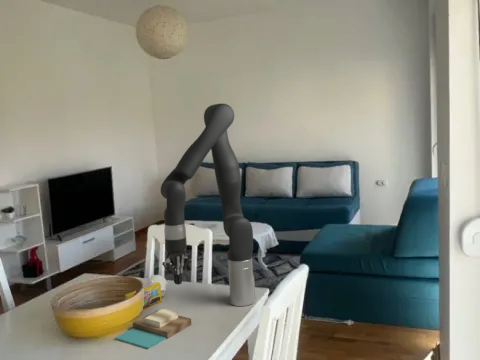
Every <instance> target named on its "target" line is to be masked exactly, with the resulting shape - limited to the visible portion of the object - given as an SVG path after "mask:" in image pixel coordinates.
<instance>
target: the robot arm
mask: <svg viewBox="0 0 480 360" xmlns="http://www.w3.org/2000/svg"><path fill="white" fill-rule="evenodd" d="M234 120H235V112H234V109H233V108H232V106H230V105H229V104H227V103H215V104H211V105H209V106H208V107H207V108H206V109H205V111H204V112H203V122H204V125H205V127H204V129H203V130H202V132H201V133H200V135H199V136H198V137H197V138H196V139H195V140H194V142H192V143H191V145H190V146H189V147H187V149H186V151H184V153H183V155H182V156H181V158H180V160H179V161H178V163H177V164H176V166H175V167H174V169H173V170H172V171H171V172H170V173H169V174H168V175H167V176H166V177H165V178H164V180H163V181H162V183H161V185H160V194H161V196H162V197H163V198H164V199H166V208H165V209H164V211H163V215H164V216H163V217H164V218H163V219H164V244H165V245H164V246H165V251H166V252H167V253H166V254H167V255H166V260H165V261H163V262H162V266H163V268H164V269H165V270H166V272H168V274H171V275H173V282H174V283H173V284H175V285H178V286H179V285H181V284H182V283H183V272H184V271H186V269H187V267H188V264H189V263H190V259H191V254H188V253H187V251H186V250H187V248H188V247H187V243H188V242H187V229H186V223H185V206H186V199H187V197H186V194H187V193H186V188H185V186H184V185H185V184H186V183H187V182H188V181H189V180H191V179H193V177H194V176H195V174H196V173H197V171H198V169H199V168H200V167H201V165H202V163H203V161H204V160H205V159H206V157H207V156H208V154H209V153H210V151H211V155H212V162H213V168H214V169H213V170H214V174H215V181H216V185H217V189H218V195H219V199H220V202H221V210H222V221H223V222H222V224H223V225H222V226H223V231H224V233H225V235H226V236H227V237H228V243H229V244H228V245H229V247H228V248H229V249H228V250H227V254H226V256H227V268H228V269H227V270H228V283H229V298H230V304H231V305H233V306H236V307H246V306H250V305H252V304H254V303H255V301H256V286H255V275H254V269H253V251H254V231H253V226H252V223H251V222H250V221H249V220H248V219H247V218H245V217H244V213H243V211H242V210H243V209H242V206H241V191H242V177H241V175H242V174H241V169H240V165H239V161H238V158H237V157H236V154H235V151H234V150H233V148H232V146H231V144H230V141H229V135H228V130H229V127H231V125H232V124H233V122H234Z"/></svg>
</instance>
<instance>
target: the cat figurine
mask: <svg viewBox="0 0 480 360" xmlns="http://www.w3.org/2000/svg"><path fill="white" fill-rule="evenodd" d="M156 282H159V283H160V284H161V298H162V297H164V296H165V293H166V290H167V287H168V283H167V280H166V278H165V277H164V276H162V275H159V274H153V273H152V274H151V275H150V278H149V279H148V281H147V285H146V286H149V285H151V284H154V283H156Z"/></svg>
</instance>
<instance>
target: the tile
mask: <svg viewBox="0 0 480 360" xmlns="http://www.w3.org/2000/svg"><path fill="white" fill-rule="evenodd" d="M157 311H158V312H156V313H154V314H152V315H150V316H148V317H146V318H145V324H148V325H152V326H155V327H159V328H161V327H162V326H164V325H166V324H168V323H170V322H171V321H173V320H175V319H177V318H178V316H179V312H178V311H173V310H171V309H165V308H161V309H160V310H157Z"/></svg>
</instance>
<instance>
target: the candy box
mask: <svg viewBox="0 0 480 360" xmlns="http://www.w3.org/2000/svg"><path fill="white" fill-rule="evenodd" d="M143 288H144V306H143V311H145V310H148V309H150V308H153V307H154V306H156V305H158V304H161V303H162V297H161V284H160V283H159V282H156V283H154V284H151V285H149V286H147V285H146V286H144V287H143ZM135 293H136V290H134V291H131V292H128V293H126V294H125V295H124V296H125V300H126V299H128V298H130V297H132V296H133V295H134V294H135Z"/></svg>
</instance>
